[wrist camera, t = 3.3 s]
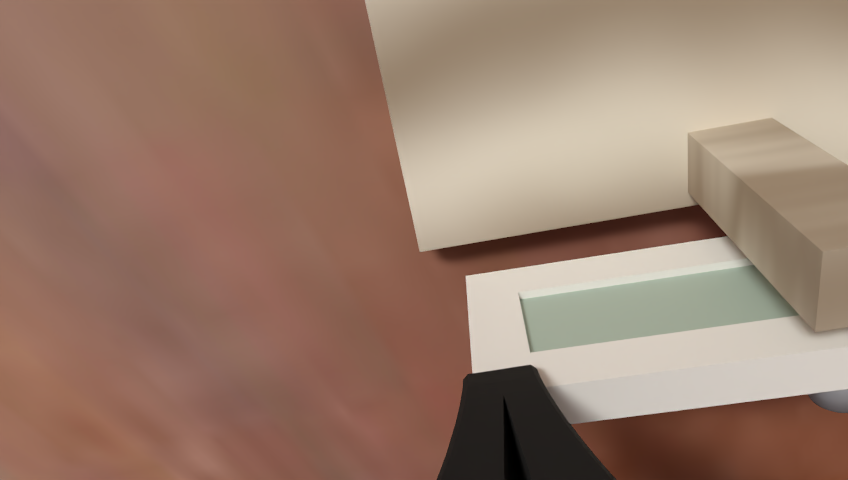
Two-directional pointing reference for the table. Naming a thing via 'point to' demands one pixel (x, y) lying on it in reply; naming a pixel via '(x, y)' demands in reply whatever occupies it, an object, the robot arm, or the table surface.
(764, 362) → the frame
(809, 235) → the easel stand
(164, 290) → the table surface
